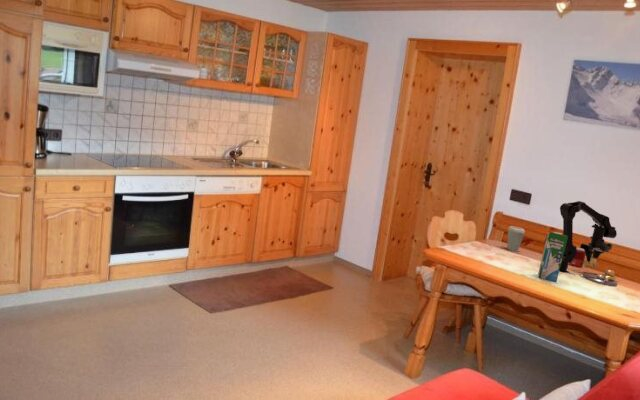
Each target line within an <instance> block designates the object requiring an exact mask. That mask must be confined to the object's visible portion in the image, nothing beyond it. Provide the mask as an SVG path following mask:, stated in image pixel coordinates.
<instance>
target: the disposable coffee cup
mask: <svg viewBox="0 0 640 400" xmlns="http://www.w3.org/2000/svg"><path fill="white" fill-rule="evenodd" d="M507 231H508V232H507V244H506V247H507V250H508V251H511V252H518V251H519V249H520V246H521V243H522V241H523V238H524V235H525V233H526V231H525V229H524V228H522V227H520V226H514V225H510V226H509V227H508V228H507Z"/></svg>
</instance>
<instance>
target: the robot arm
mask: <svg viewBox="0 0 640 400" xmlns="http://www.w3.org/2000/svg"><path fill="white" fill-rule="evenodd" d="M559 210H560V211H559V212H560V216H561V218H562V219H563V224H562V229H563V231H562V235H566V236H568V239H567V243H566V247H565V251H564V255H563V258H562V262H561V266H560V270H559V272H561V273H569V270H568V268H569V262H570V263H571V262H572V260H573V259H574V257H575V256H576V253H577V252H576V249H577V248H578V247H577V246H576V245H574V243H573V242H574V241H573V236H574V235H573V232H574V231H573V229H574V227H573V226H574V225H573V223H574V222H573V221H574V218H575V217H576V213H579V212H583V213H585V214H586V215H587V216H589V217H590V218H591V220H592V221H593V222H594V224H592V225H591V228H593V232H592V235H591V236H590V237H589V238H590V239H591V240H590V242H588V243H581V244H580V247H579V248H581V249H584V251H585V257H586V261H588V262H589V261H590V259H591V257H595V258H597V259H599V257H600V256H601V254H605V253H609V251H611V250H612V247H613V244H612V243H605V239H604V238H607V239H615V238H616V237H617V235H618V234H617V229H616V227H615V226H612V225H611V224H612V223H611V221H610V217H609V216H607V215H604V214H602V213H599V212H597V211H596V210H595V209H593V207H590V206H589V205H588V204H586V202H584V201H581V200H578V201H575V202H573V201H572V202H567V203H566V202H565V203H561V205H560V207H559Z"/></svg>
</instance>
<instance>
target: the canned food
mask: <svg viewBox="0 0 640 400" xmlns="http://www.w3.org/2000/svg"><path fill="white" fill-rule="evenodd" d="M576 252H577V253H576V256H575V257H574V259H573V260H572V262H571V263H570V262H569V263H568V266H572V267H575V268H582V267H583V265H584V264H583V263H584V260H585V257H586V254H585V251H584V249H582V248H580V247H577V249H576Z"/></svg>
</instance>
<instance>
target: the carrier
mask: <svg viewBox="0 0 640 400" xmlns="http://www.w3.org/2000/svg"><path fill="white" fill-rule="evenodd" d="M615 273H616V272H615V271H614V270H611V269H605V271H604V273H602V274H599V273H598V274H592V273H582V278H583V279H585V280H587V281H589V282H593V283H597V284H600V285H603V286H608V287H617V286H618V282H617V281H616V278H617V277H616V276H615Z"/></svg>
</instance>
